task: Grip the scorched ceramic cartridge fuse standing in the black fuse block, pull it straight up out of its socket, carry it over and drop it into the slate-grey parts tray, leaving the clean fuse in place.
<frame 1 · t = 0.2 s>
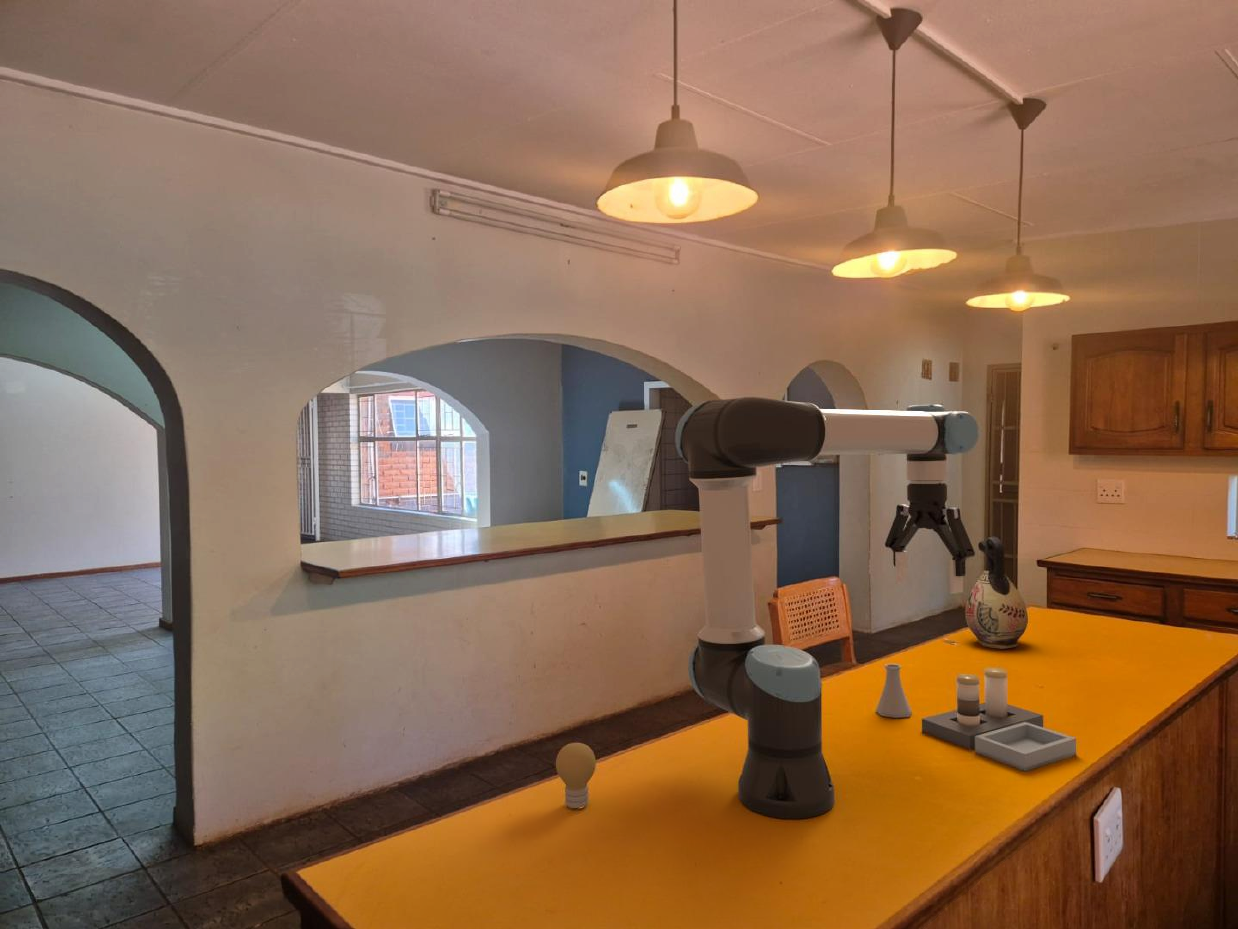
hand: (928, 587, 164), 27 cm above the counter, fingers open, 13 cm apart
light bulb: (577, 807, 130), on the counter
ceramic jug: (997, 646, 221), on the counter
parts tray: (1025, 753, 147), on the counter
blown fuse: (968, 733, 157), resting in fuse block
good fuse: (996, 726, 161), resting in fuse block
flask: (893, 714, 170), on the counter
fuse block: (982, 729, 159), on the counter
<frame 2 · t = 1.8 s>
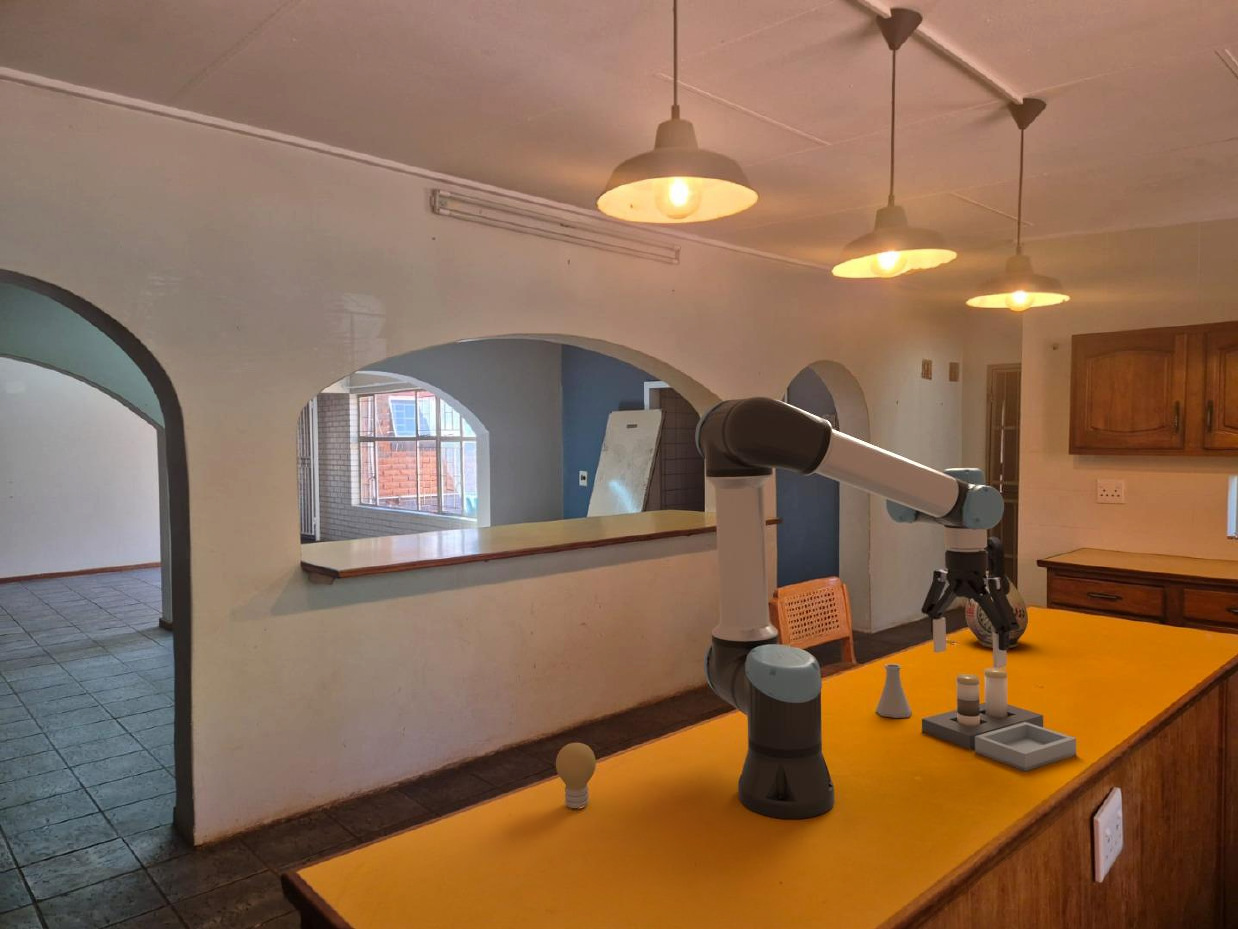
hand: (968, 659, 157), 14 cm above the counter, fingers open, 13 cm apart
nothing on the counter moved.
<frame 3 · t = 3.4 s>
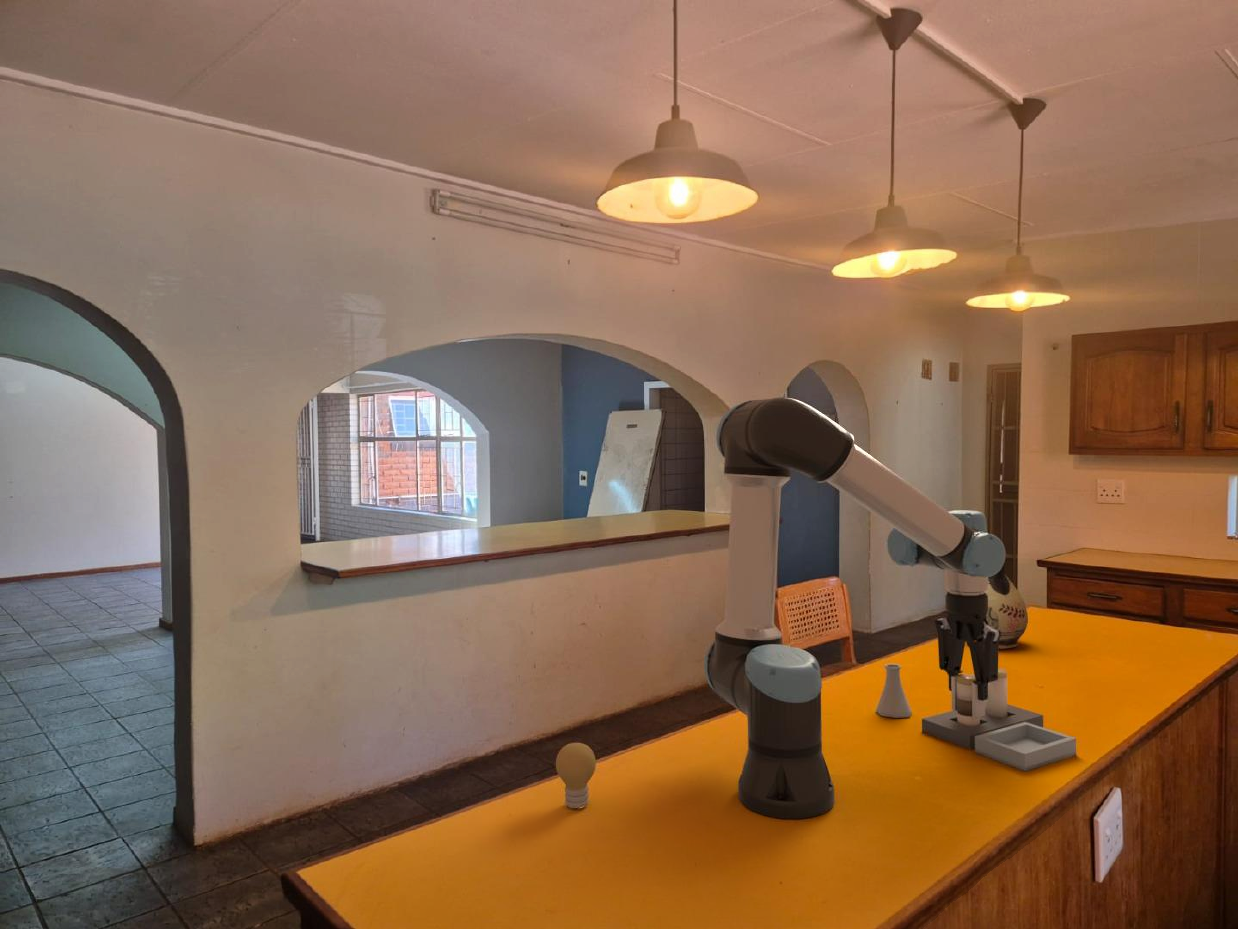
hand: (968, 712, 157), 4 cm above the counter, fingers closed on blown fuse, 4 cm apart
blown fuse: (968, 733, 157), resting in fuse block, touching gripper
everything else where it was.
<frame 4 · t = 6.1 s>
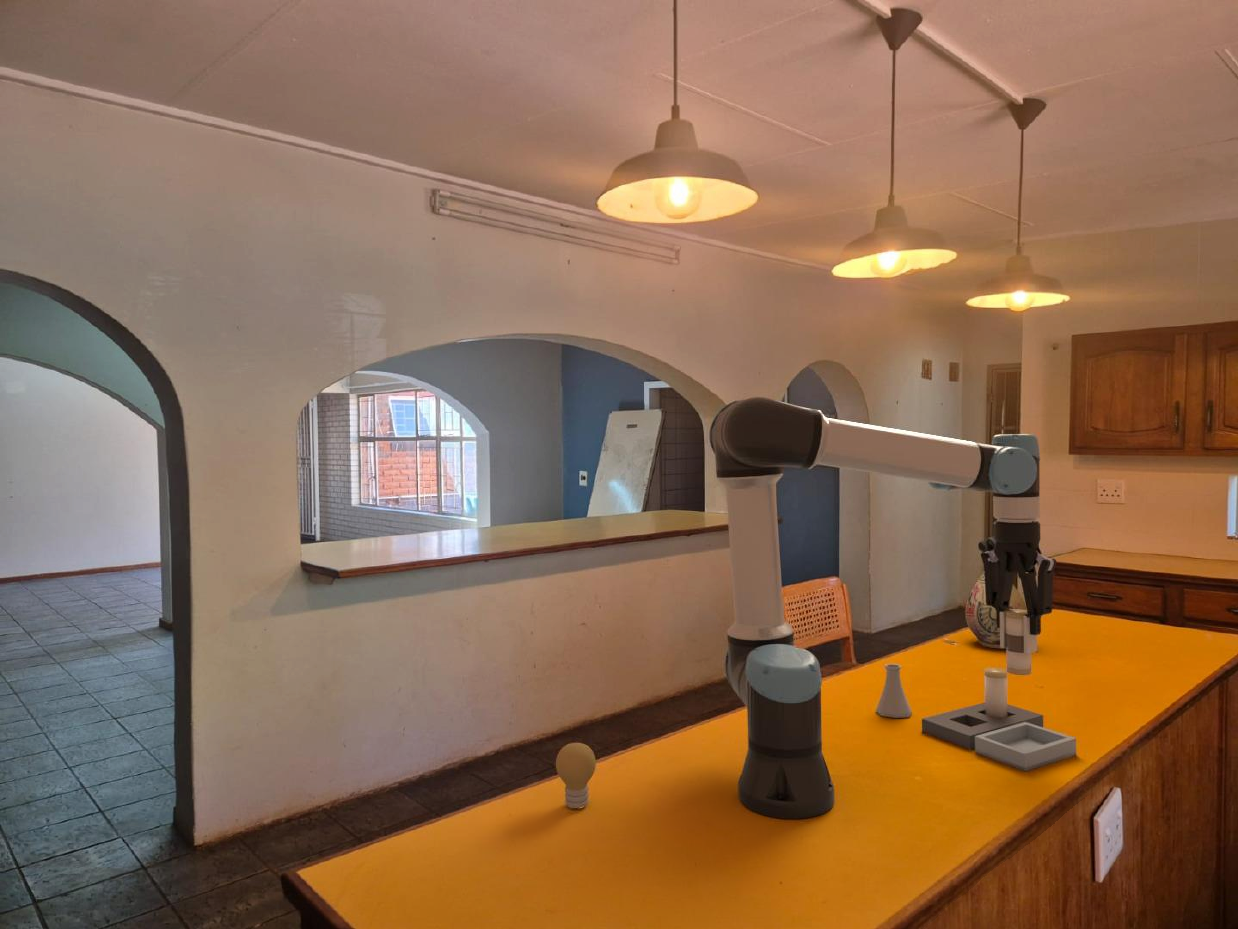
hand: (1018, 649, 147), 19 cm above the counter, fingers closed on blown fuse, 4 cm apart
blown fuse: (1018, 672, 147), point 15 cm above the counter, touching gripper
everything else where it was.
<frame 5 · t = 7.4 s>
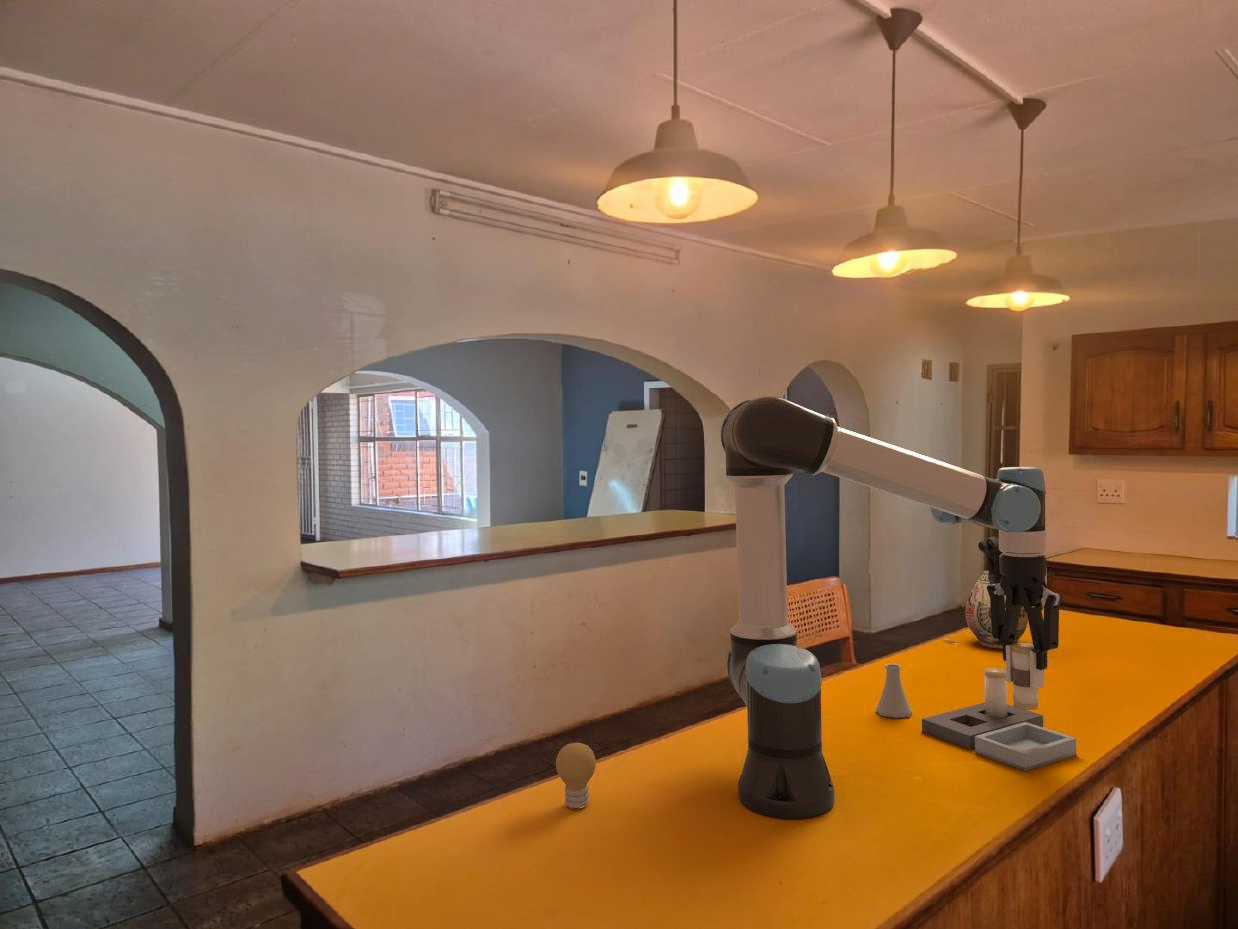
hand: (1025, 683, 146), 13 cm above the counter, fingers closed on blown fuse, 4 cm apart
blown fuse: (1025, 706, 146), point 9 cm above the counter, touching gripper
everything else where it was.
when the fingers open (6 cm above the counter, at t = 8.8 s): blown fuse drops 1 cm, resting on parts tray.
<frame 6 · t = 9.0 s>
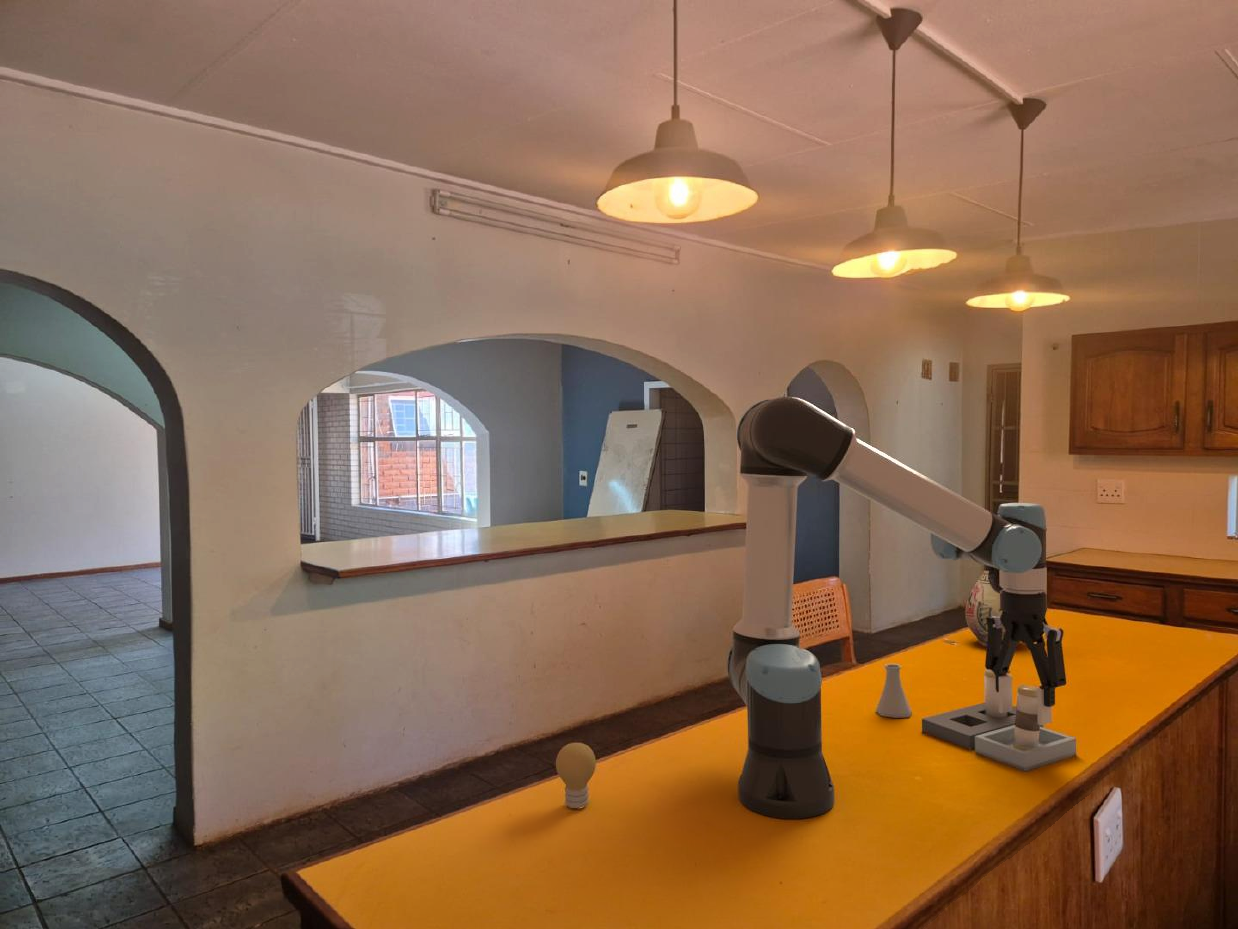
hand: (1024, 717, 146), 7 cm above the counter, fingers open, 7 cm apart
blown fuse: (1025, 749, 147), point 1 cm above the counter, tilted 6°, touching parts tray
everything else where it was.
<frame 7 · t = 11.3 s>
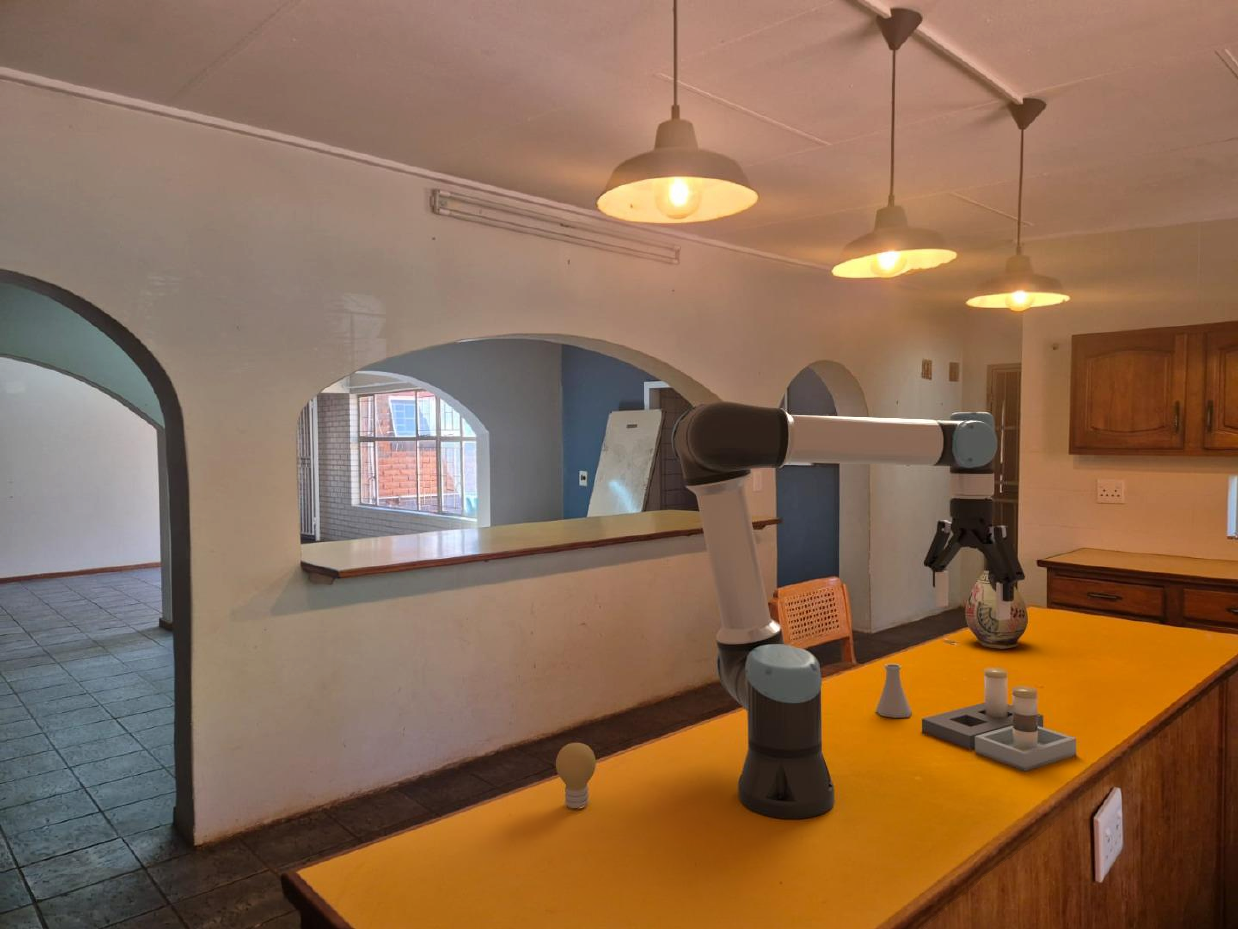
hand: (971, 612, 150), 25 cm above the counter, fingers open, 13 cm apart
blown fuse: (1025, 750, 147), point 1 cm above the counter, touching parts tray
everything else where it was.
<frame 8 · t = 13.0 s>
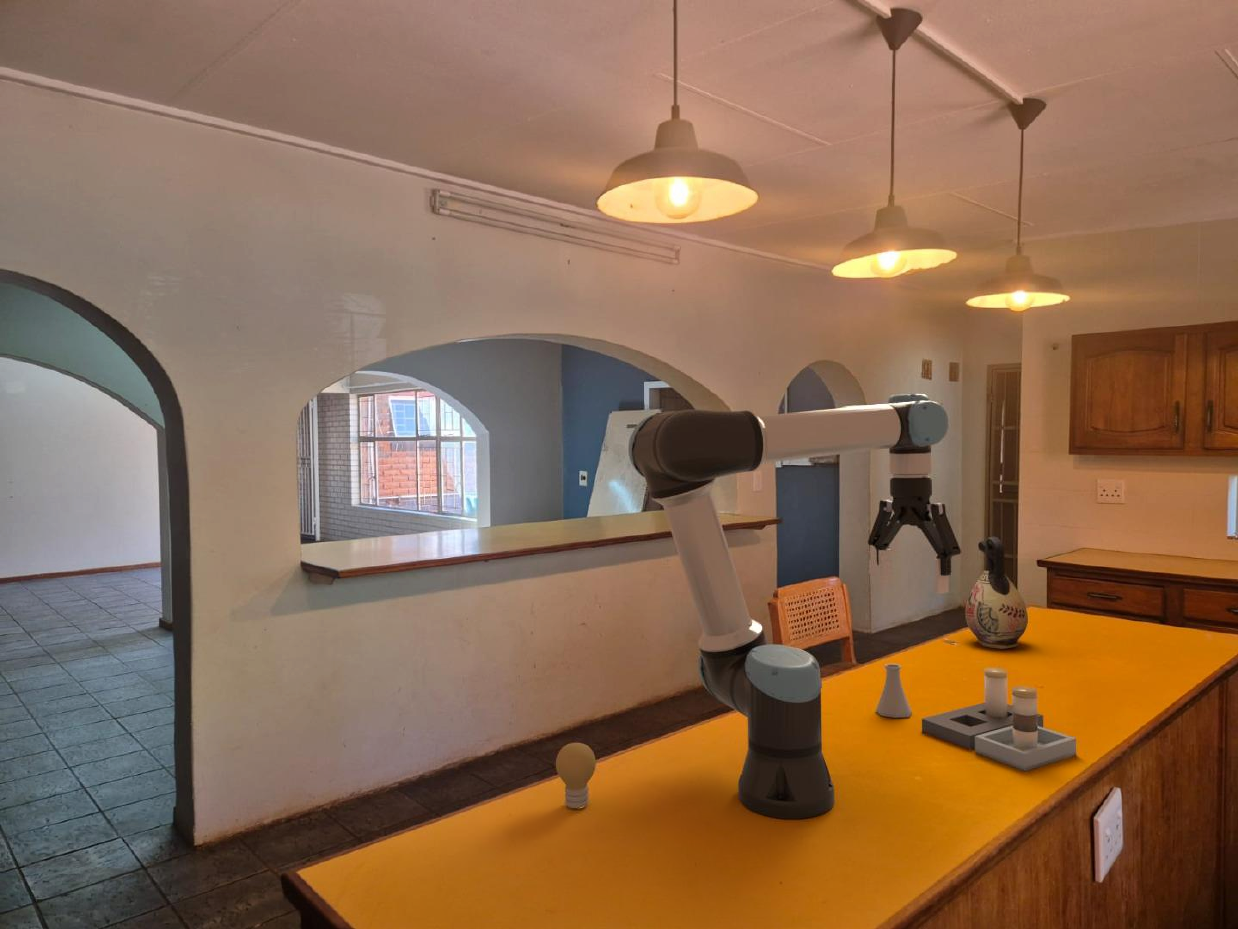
hand: (912, 587, 155), 29 cm above the counter, fingers open, 13 cm apart
nothing on the counter moved.
at the end: blown fuse inside the target area on the parts tray (0.0 cm from its centre), point 0.6 cm above the parts tray's base; the gripper is holding nothing; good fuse 0.0 cm from the target spot on the fuse block, point 0.0 cm above the fuse block's base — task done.
